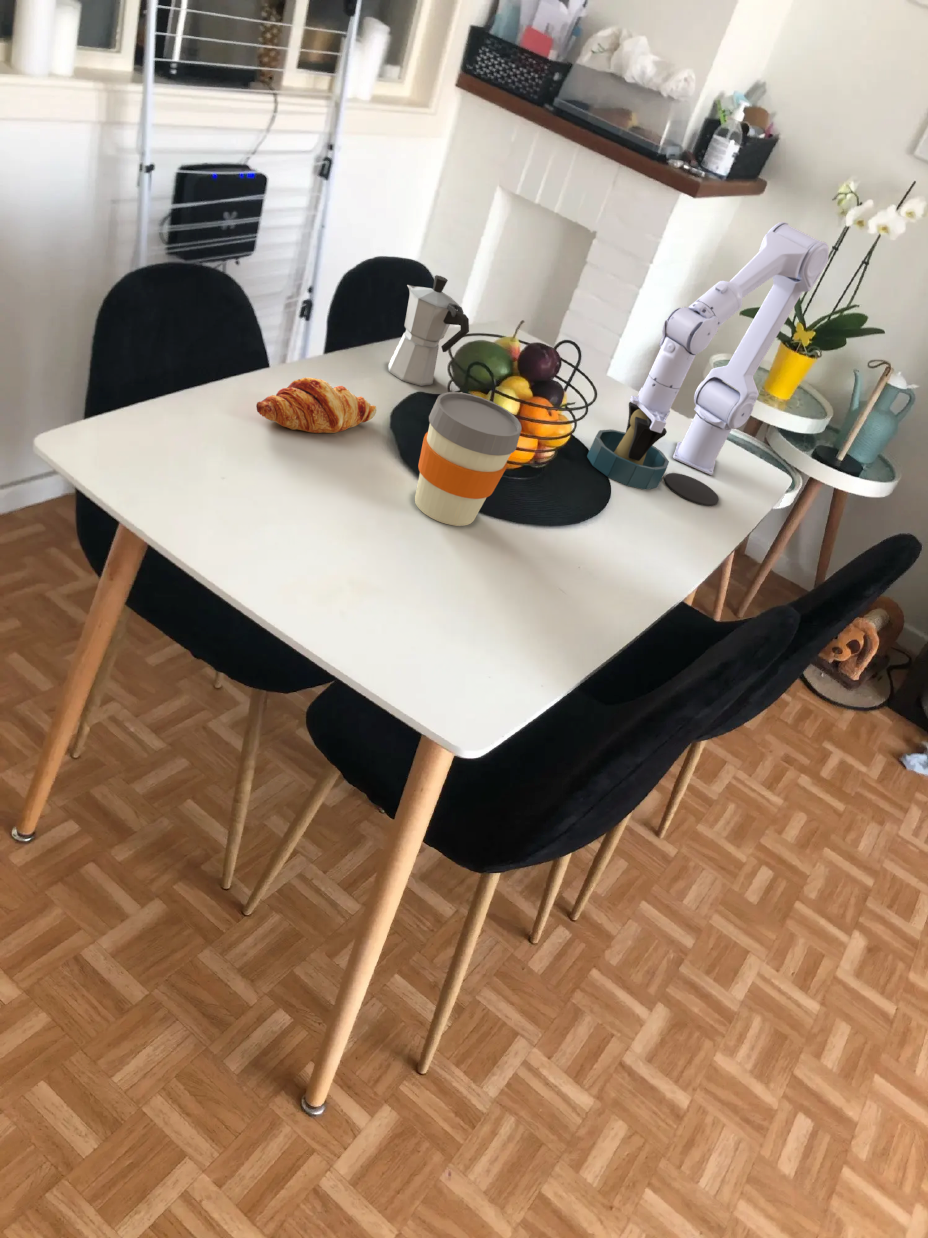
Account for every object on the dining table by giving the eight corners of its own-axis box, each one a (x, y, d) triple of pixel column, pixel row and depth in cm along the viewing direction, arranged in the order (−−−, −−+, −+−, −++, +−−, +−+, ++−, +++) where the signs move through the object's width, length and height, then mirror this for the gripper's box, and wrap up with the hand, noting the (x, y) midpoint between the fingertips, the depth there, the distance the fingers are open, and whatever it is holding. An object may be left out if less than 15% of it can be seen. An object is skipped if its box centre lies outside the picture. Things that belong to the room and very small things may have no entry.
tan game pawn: (638, 481, 175) (665, 425, 169) (606, 468, 175) (632, 412, 169) (639, 468, 180) (666, 413, 174) (608, 456, 180) (633, 400, 174)
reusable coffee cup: (435, 477, 149) (468, 385, 141) (502, 520, 145) (539, 428, 137) (384, 495, 140) (416, 397, 132) (455, 541, 135) (492, 443, 128)
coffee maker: (369, 359, 179) (398, 260, 170) (401, 356, 186) (430, 261, 176) (429, 399, 173) (462, 299, 164) (460, 394, 180) (494, 298, 170)
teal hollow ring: (595, 441, 183) (603, 422, 181) (662, 471, 182) (672, 452, 180) (581, 465, 172) (590, 444, 170) (653, 497, 171) (663, 477, 169)
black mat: (667, 468, 184) (668, 466, 184) (719, 492, 184) (720, 490, 183) (660, 488, 176) (661, 486, 175) (715, 512, 175) (716, 510, 175)
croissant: (355, 430, 161) (354, 379, 160) (396, 432, 154) (396, 379, 153) (240, 432, 147) (238, 376, 145) (280, 434, 140) (278, 375, 138)
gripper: (636, 358, 173) (605, 427, 181) (649, 389, 161) (615, 462, 169) (673, 370, 175) (640, 439, 182) (689, 402, 163) (654, 475, 170)
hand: (631, 451), depth 175 cm, fingers closed on tan game pawn, 5 cm apart
